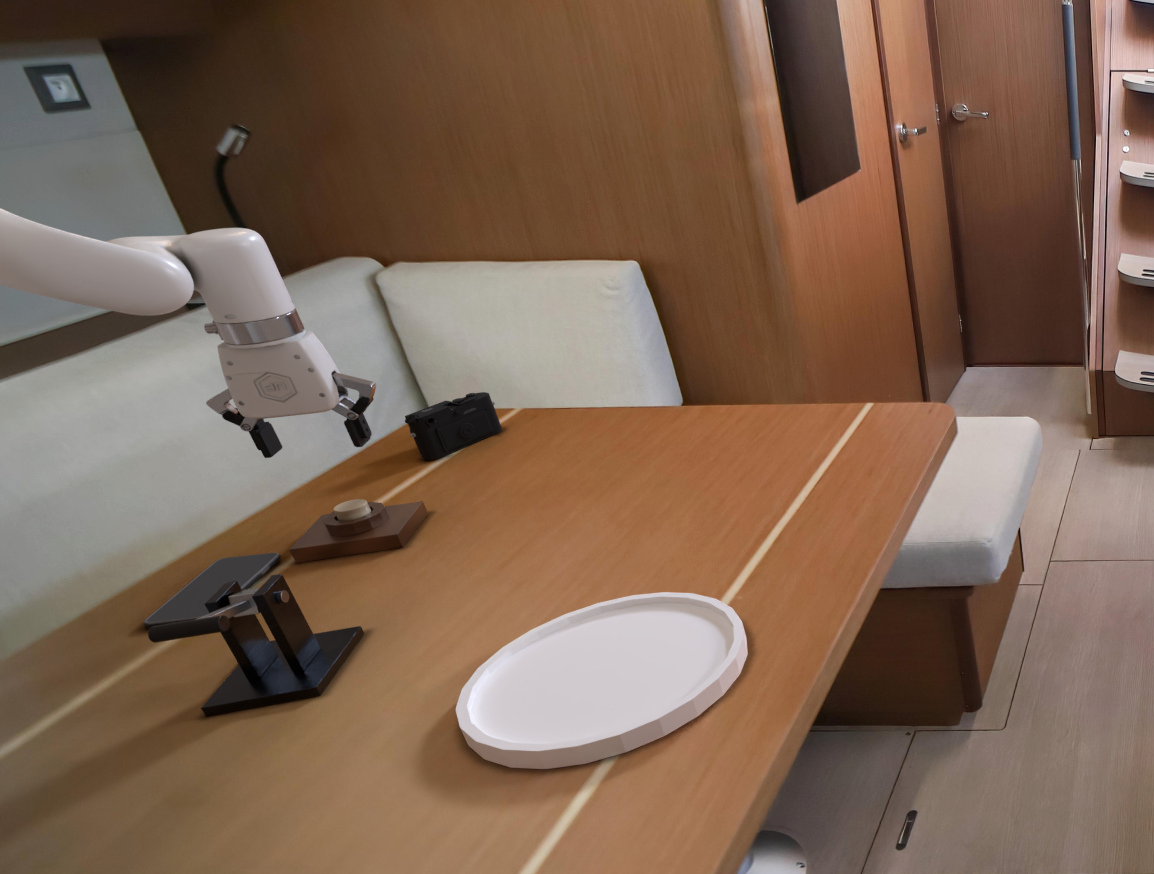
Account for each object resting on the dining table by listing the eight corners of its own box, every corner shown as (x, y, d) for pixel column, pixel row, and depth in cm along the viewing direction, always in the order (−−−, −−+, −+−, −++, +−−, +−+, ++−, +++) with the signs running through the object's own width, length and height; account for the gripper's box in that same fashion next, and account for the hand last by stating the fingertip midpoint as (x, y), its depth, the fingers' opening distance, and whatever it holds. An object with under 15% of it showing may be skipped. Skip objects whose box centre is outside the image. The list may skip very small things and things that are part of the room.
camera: (480, 423, 171) (464, 382, 167) (511, 428, 169) (496, 387, 165) (397, 458, 158) (378, 414, 155) (430, 463, 157) (412, 419, 153)
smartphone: (136, 624, 116) (217, 557, 129) (140, 630, 117) (220, 563, 129) (211, 615, 118) (283, 550, 131) (215, 622, 118) (286, 556, 131)
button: (333, 524, 133) (328, 513, 132) (344, 511, 136) (339, 501, 135) (365, 519, 134) (360, 509, 133) (375, 507, 137) (371, 497, 136)
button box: (295, 563, 130) (282, 538, 128) (328, 527, 138) (316, 503, 137) (403, 547, 134) (392, 523, 132) (428, 513, 142) (418, 490, 141)
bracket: (320, 695, 107) (274, 609, 102) (205, 716, 103) (151, 629, 98) (364, 633, 117) (325, 552, 112) (261, 651, 113) (215, 568, 108)
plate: (646, 586, 127) (641, 571, 126) (800, 644, 116) (796, 628, 115) (406, 718, 104) (397, 700, 103) (570, 805, 94) (563, 786, 92)
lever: (222, 636, 97) (216, 614, 96) (151, 648, 95) (144, 625, 95) (292, 603, 108) (287, 583, 108) (230, 613, 106) (224, 592, 106)
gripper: (155, 345, 115) (222, 470, 123) (333, 330, 120) (386, 450, 128) (191, 326, 121) (252, 445, 129) (358, 312, 127) (408, 428, 134)
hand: (319, 448), depth 129 cm, fingers open, 9 cm apart
